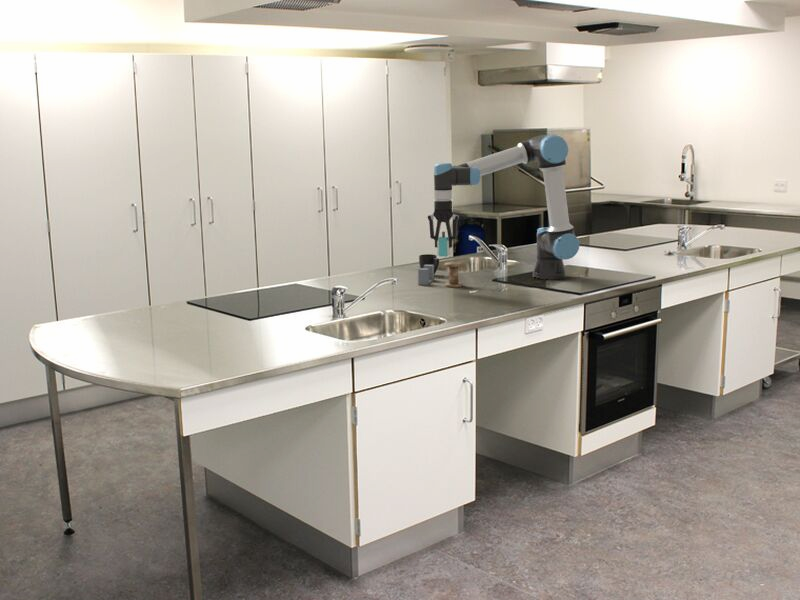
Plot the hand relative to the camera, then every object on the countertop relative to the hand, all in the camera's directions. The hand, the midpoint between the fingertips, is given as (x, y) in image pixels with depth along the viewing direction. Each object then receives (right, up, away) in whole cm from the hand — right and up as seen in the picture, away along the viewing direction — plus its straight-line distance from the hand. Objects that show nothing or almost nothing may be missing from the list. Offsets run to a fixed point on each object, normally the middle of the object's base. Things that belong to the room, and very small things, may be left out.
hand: (443, 255), depth 374 cm
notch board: (-7, -11, +21) cm, 25 cm away
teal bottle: (0, 0, 0) cm, 0 cm away
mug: (-4, -8, +38) cm, 39 cm away
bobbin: (+5, -13, +11) cm, 18 cm away
